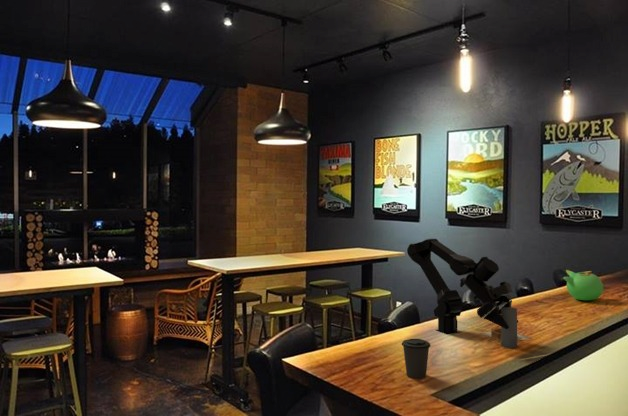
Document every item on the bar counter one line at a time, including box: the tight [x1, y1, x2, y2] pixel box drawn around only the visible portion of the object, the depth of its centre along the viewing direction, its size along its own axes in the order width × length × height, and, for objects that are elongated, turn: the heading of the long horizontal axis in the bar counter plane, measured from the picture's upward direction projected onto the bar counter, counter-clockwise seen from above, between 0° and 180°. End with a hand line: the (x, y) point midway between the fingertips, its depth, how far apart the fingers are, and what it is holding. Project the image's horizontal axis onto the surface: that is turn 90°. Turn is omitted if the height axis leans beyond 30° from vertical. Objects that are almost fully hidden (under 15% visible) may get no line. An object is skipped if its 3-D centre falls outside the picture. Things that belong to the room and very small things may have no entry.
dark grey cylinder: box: [500, 307, 518, 349], centre depth 161 cm, size 5×5×13 cm
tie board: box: [478, 327, 532, 342], centre depth 174 cm, size 13×13×2 cm
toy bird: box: [563, 269, 604, 302], centre depth 238 cm, size 18×17×15 cm
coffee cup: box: [401, 338, 431, 380], centre depth 135 cm, size 8×8×10 cm
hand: (512, 325), depth 160 cm, fingers open, 9 cm apart
